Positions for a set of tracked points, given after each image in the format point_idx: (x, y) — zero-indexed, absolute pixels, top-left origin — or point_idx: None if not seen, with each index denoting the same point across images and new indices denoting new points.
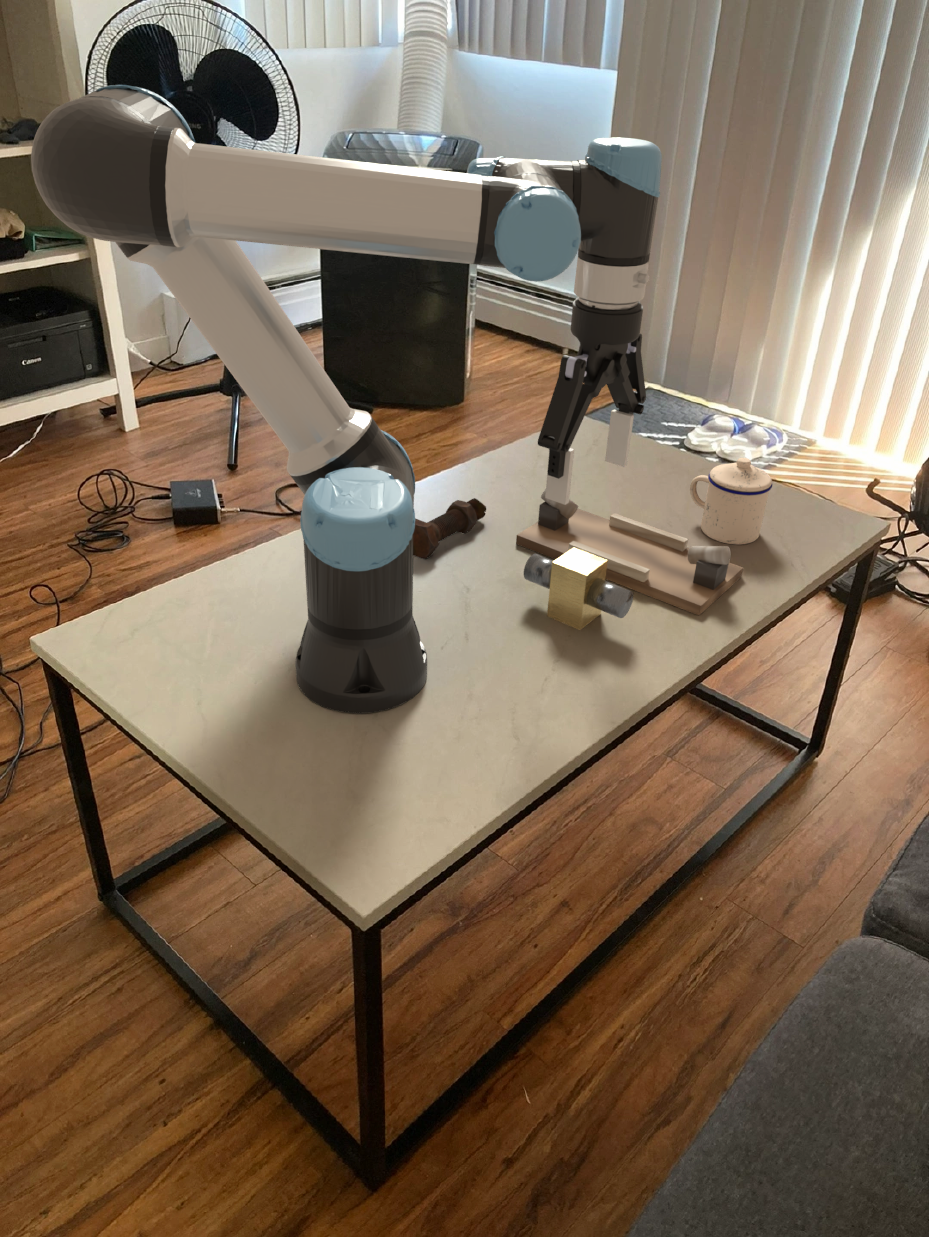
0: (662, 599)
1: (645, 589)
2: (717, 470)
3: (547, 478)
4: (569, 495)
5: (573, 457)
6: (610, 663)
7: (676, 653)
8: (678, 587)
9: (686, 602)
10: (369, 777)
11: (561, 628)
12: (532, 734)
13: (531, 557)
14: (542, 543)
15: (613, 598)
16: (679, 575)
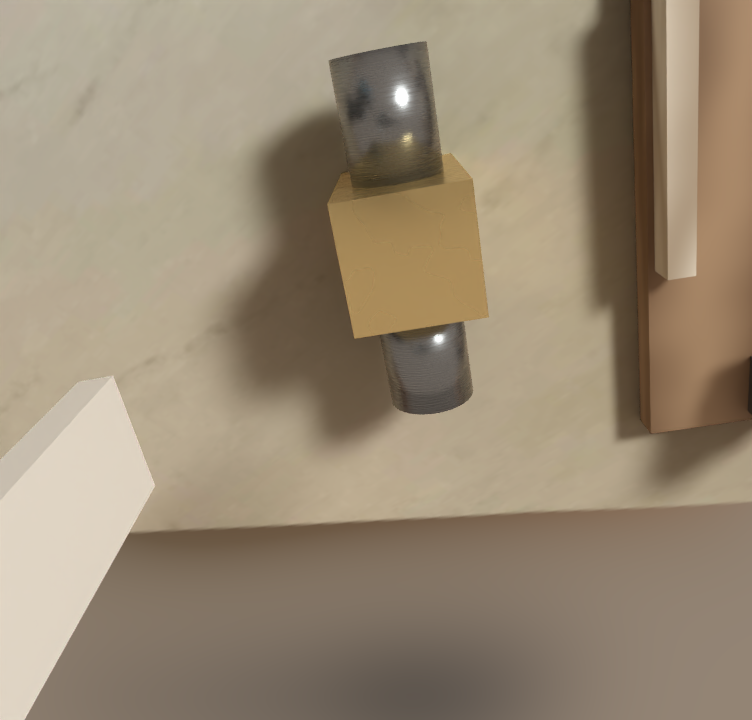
0: (640, 326)
1: (642, 278)
2: None
3: (20, 444)
4: (139, 512)
5: (30, 707)
6: (315, 410)
7: (462, 472)
8: (697, 347)
9: (647, 395)
10: None
11: (329, 241)
12: None
13: (361, 60)
14: None
15: (396, 389)
16: None
